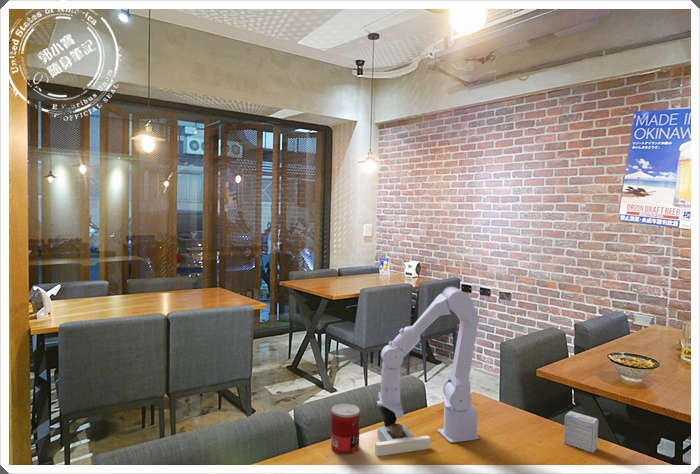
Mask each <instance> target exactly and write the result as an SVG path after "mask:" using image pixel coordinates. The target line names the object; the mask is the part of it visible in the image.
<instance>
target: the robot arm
mask: <svg viewBox="0 0 700 474" xmlns="http://www.w3.org/2000/svg"><path fill="white" fill-rule="evenodd" d="M450 311H452V312H453V313H454V314H455V316H457V318H458V319H459V328H458V332H457V336H456V337H457V338H456V344H455V350H454V356H453V362H452V368H451V371H450V372H449V373H448V376H447V379H446V381H445V382H444V384H443V388H442V392H443V394H444V396H446V399H445V400H444V402H443V426H442V427H443V428H438V429H437V432H438V433H440V435H442V437H443V438H444V439H446V440H447V441H448V442H449V443H451V444H453V443H461V442H467V441H472V440H473V441H474V440H479V436H478V420H479V419H478V418H479V417H478V412H477V408H476V407H475V405H473V404H472V395H471V382H470V374H471V368H472V362H473V355H474V352H475V351H474V350H475V344H476V339H477V334H478V333H477V332H478V326H479V321H480V318H479V315H478V312H477V309H476V308H475V304H474V301H473V299H472V298H471V297H470V296H469V295H468V294H467V293H466V292H464V291H462V290H460V289H459V288H458V287H456V286H447V287H446V288H444V290H442V292H441V293H440V294H438V295H437V296H436V297H435V298H434V300H432V302H431V304H430V305H429V306H428V307H427V308H426V309H425V310H424V312H423V313H422V314H421V315H420V316H419V317H418V319H417V320H416V321H415V322H414V323H413V325H408V326H405V327H404V328H403V327H402V328H400V329H399V330H398V332H399V334H398V335H396V336H395V338H394V339H393V340H390V341H389V342H388V345H387V344H386V345H385V346H384V347H383V348H382V350H381V352H380V357H381V359H382V362H381V363H382V364H381V372H380V373H381V378H380V379H381V381H380V391H378V392H377V398H378V400H377V401H376V404H377V406H378V407H379V411H380V412H381V416H382V418H383V424H384V427H387V426H391V424H395V423H396V422H397V419H400V418H404V409H402V408H403V407H402V402H401V381H402V380H401V379H402V378H401V377H402V373H401V366H402V364H403V362H404V358H405V357H406V356H407V355H408V354H409V353H410V352H411V351H412V350H413V349H414V348H415V347H416V346H417V344H418V343H419V342H420V341H421V334H422V333H423V332H424V331H425V330H427V328H428V327H430V325H431V324H433V322H435V320H437V319H438V318H439V317H440V316H445V315H446V316H449V315H451V312H450Z"/></svg>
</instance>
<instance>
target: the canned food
mask: <svg viewBox="0 0 700 474" xmlns="http://www.w3.org/2000/svg"><path fill="white" fill-rule="evenodd" d="M330 416H331V417H330V418H331V421H330V422H331V424H330V425H331V429H330V430H331V431H330V446H331V450H333V452H335V451H336V452H335V453H337V452H338V453H337V454H341V453H343V454H342V455H351V454H354V453H356V452H358V450H359V446H360V427H361V426H360V425H361V423H360V421H361V410H360V407H359V406H357V405H355V404H352V403H338V404H336V405H333V406H332V407H331V415H330ZM353 452H354V453H353ZM350 453H351V454H350Z"/></svg>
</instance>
